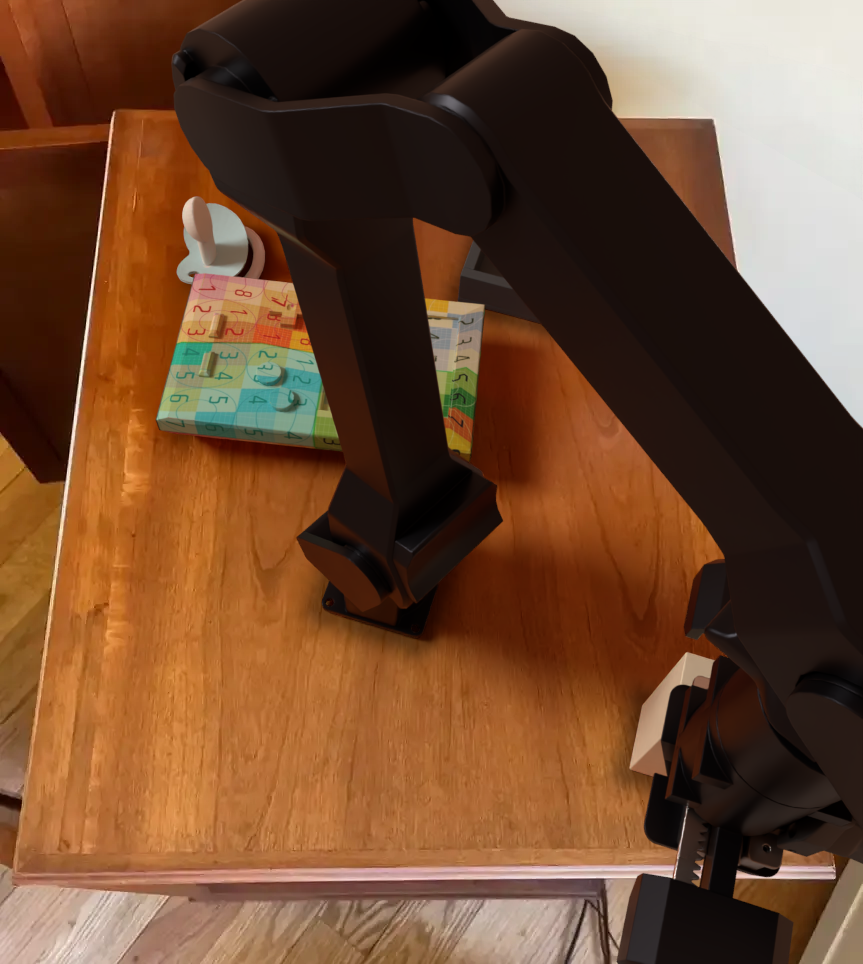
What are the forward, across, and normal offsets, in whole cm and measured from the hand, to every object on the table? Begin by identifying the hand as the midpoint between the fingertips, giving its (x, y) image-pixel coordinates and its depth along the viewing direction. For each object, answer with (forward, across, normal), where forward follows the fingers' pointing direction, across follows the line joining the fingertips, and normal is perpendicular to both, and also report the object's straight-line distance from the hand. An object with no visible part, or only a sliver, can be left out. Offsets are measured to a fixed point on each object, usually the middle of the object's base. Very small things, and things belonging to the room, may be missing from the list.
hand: (682, 804), depth 51 cm
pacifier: (+7, +30, +38) cm, 49 cm away
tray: (+7, +39, +17) cm, 43 cm away
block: (+7, +5, 0) cm, 8 cm away
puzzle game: (+7, +22, +27) cm, 35 cm away
